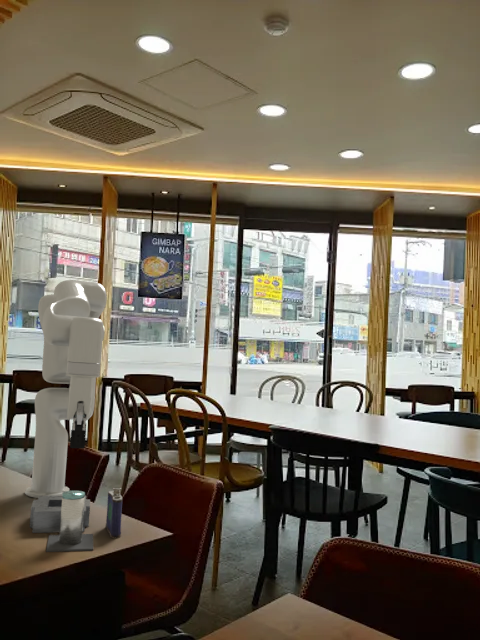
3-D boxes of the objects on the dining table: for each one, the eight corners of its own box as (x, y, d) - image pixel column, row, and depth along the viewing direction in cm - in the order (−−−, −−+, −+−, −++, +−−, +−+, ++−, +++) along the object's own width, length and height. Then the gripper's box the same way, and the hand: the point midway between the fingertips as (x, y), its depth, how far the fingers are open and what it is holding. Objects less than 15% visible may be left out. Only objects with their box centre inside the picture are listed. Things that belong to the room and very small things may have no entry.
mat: (49, 536, 131) (49, 534, 131) (92, 535, 134) (93, 533, 134) (46, 551, 122) (46, 550, 122) (93, 550, 124) (93, 548, 124)
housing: (33, 515, 146) (35, 496, 147) (88, 514, 150) (89, 495, 150) (27, 532, 133) (29, 511, 133) (88, 531, 137) (90, 510, 137)
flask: (104, 526, 141) (107, 483, 142) (116, 525, 142) (119, 483, 143) (110, 538, 133) (114, 493, 133) (123, 537, 134) (126, 492, 134)
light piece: (59, 537, 130) (62, 490, 131) (82, 537, 131) (85, 490, 132) (58, 545, 125) (61, 496, 126) (81, 544, 126) (84, 495, 127)
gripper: (68, 366, 138) (62, 436, 137) (65, 371, 121) (58, 451, 120) (99, 368, 139) (94, 437, 139) (100, 373, 123) (94, 451, 122)
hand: (77, 443), depth 129 cm, fingers open, 9 cm apart
